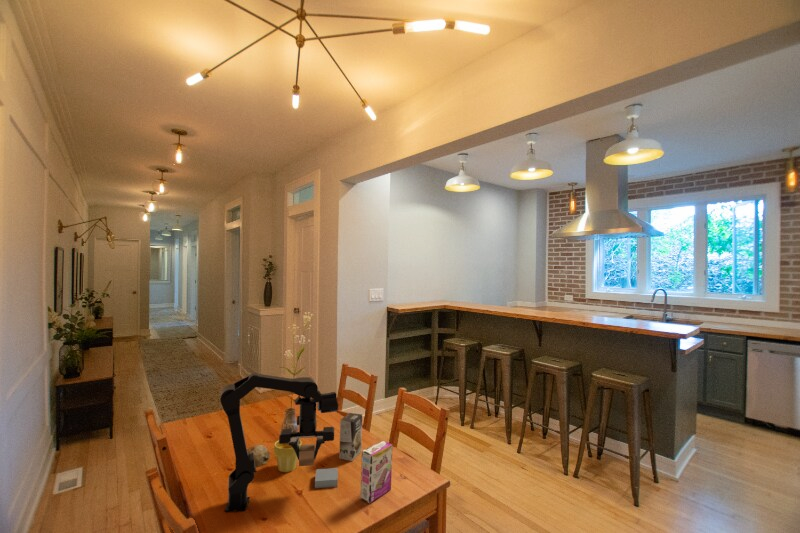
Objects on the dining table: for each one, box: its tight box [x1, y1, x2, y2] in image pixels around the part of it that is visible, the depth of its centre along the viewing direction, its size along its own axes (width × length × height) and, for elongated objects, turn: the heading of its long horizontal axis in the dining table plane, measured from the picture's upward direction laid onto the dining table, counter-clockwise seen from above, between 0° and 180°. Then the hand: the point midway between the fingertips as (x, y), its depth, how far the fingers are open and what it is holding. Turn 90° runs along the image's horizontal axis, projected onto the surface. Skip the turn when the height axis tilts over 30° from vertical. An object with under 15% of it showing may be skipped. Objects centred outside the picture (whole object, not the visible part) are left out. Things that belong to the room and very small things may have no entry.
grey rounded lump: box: [247, 444, 271, 467], centre depth 151 cm, size 10×10×8 cm
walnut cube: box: [298, 443, 316, 467], centre depth 131 cm, size 5×5×5 cm
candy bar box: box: [359, 440, 393, 505], centre depth 130 cm, size 11×5×16 cm, turn 141°
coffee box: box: [338, 412, 363, 462], centre depth 157 cm, size 9×6×16 cm
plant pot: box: [273, 438, 303, 473], centre depth 146 cm, size 10×10×10 cm
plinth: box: [314, 467, 339, 489], centre depth 137 cm, size 8×8×2 cm
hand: (307, 459), depth 131 cm, fingers closed on walnut cube, 5 cm apart
